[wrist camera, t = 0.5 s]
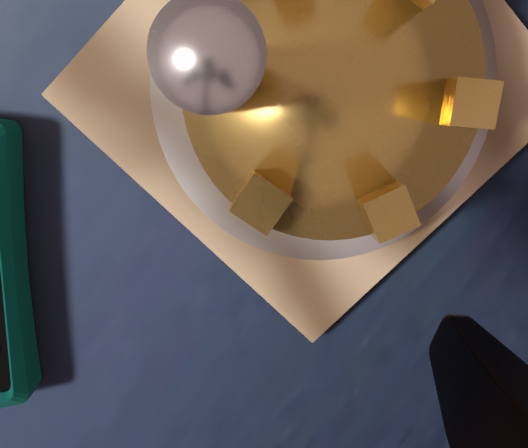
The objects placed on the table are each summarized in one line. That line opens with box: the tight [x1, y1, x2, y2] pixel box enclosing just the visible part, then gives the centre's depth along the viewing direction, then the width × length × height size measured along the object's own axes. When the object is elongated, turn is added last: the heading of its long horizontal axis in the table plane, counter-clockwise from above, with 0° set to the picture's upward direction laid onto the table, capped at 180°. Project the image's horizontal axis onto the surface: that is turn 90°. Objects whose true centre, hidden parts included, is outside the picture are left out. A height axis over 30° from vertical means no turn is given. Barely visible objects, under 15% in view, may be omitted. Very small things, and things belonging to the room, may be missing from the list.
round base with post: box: [146, 0, 504, 244], centre depth 15 cm, size 12×12×11 cm
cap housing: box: [41, 0, 528, 343], centre depth 22 cm, size 18×18×3 cm
